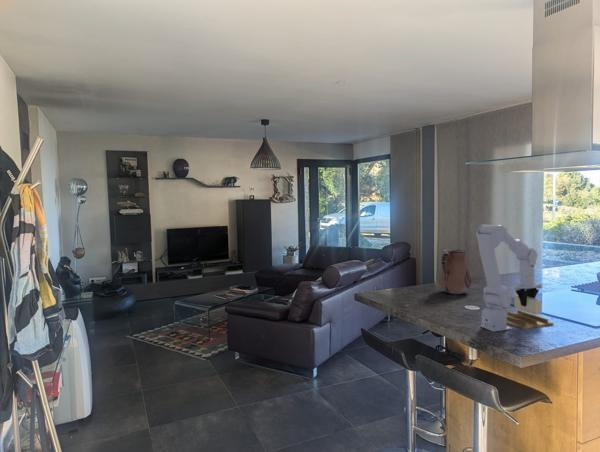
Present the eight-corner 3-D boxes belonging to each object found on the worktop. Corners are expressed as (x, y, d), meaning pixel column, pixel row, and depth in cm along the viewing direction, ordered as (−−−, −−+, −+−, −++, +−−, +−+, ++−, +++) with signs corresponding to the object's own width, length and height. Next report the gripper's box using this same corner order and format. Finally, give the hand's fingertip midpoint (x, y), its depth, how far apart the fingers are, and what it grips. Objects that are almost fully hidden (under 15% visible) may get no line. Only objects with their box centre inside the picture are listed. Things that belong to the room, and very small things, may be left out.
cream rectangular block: (535, 314, 180) (535, 300, 179) (514, 307, 191) (514, 294, 191) (541, 313, 181) (541, 300, 180) (520, 307, 192) (520, 294, 192)
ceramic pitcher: (475, 291, 247) (475, 249, 245) (462, 298, 231) (461, 253, 230) (446, 288, 258) (445, 247, 257) (431, 294, 243) (431, 251, 241)
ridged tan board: (522, 329, 175) (522, 323, 175) (492, 318, 193) (492, 312, 192) (553, 325, 179) (553, 319, 179) (521, 314, 197) (521, 309, 196)
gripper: (520, 277, 180) (520, 309, 181) (547, 275, 183) (547, 305, 184) (507, 275, 187) (508, 305, 187) (534, 272, 190) (534, 302, 191)
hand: (526, 305), depth 186 cm, fingers closed on cream rectangular block, 3 cm apart
